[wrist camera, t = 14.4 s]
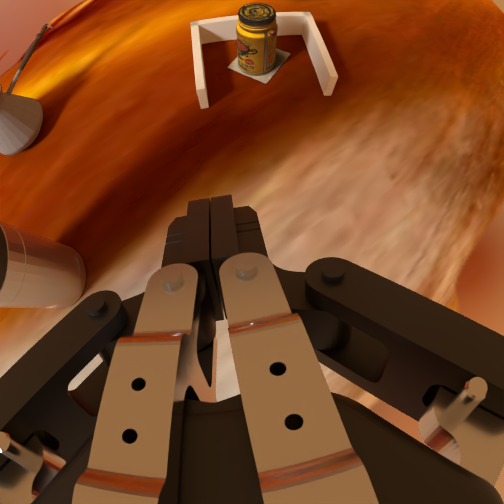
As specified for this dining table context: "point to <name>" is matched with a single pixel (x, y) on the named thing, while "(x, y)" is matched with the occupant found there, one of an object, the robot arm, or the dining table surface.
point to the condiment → (257, 43)
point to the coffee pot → (19, 112)
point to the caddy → (286, 26)
